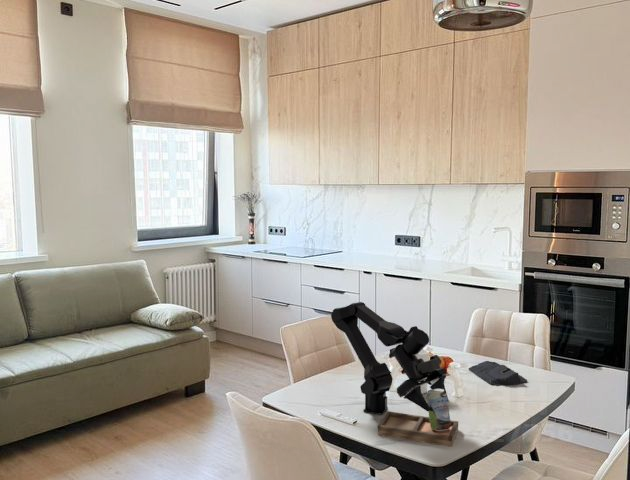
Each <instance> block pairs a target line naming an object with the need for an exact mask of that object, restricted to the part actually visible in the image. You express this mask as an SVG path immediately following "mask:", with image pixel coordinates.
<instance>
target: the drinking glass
mask: <svg viewBox="0 0 630 480" xmlns="http://www.w3.org/2000/svg"><path fill="white" fill-rule="evenodd" d="M415 355H416V357H417V358H418V359H420V358H421V359H423V361H424V362H425V361H428V360H430V351H429V350H427V349H425V348H423V349H422V350H421V351H420V352H419V353H418V354H415ZM424 381H425V380H424ZM419 383H420V382H419ZM420 386H421V393H422V395H424V394H427V393H428V383H425V384H423V385H420Z"/></svg>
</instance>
